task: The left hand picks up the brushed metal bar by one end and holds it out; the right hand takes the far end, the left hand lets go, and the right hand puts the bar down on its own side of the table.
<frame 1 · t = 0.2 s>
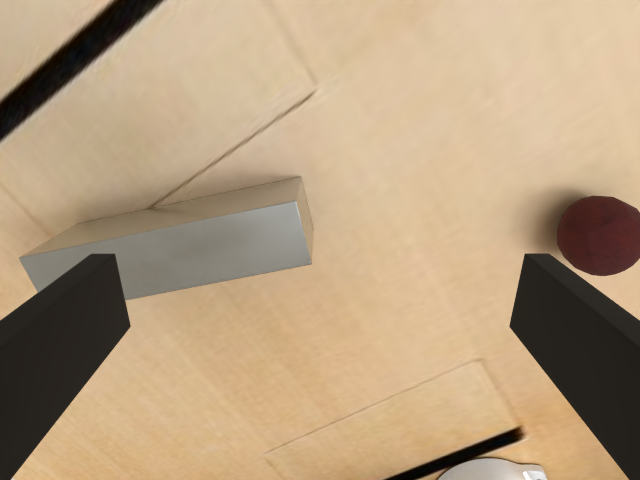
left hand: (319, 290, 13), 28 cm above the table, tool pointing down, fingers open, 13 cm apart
bar: (195, 226, 41), on the table
dark red ball: (576, 222, 41), on the table
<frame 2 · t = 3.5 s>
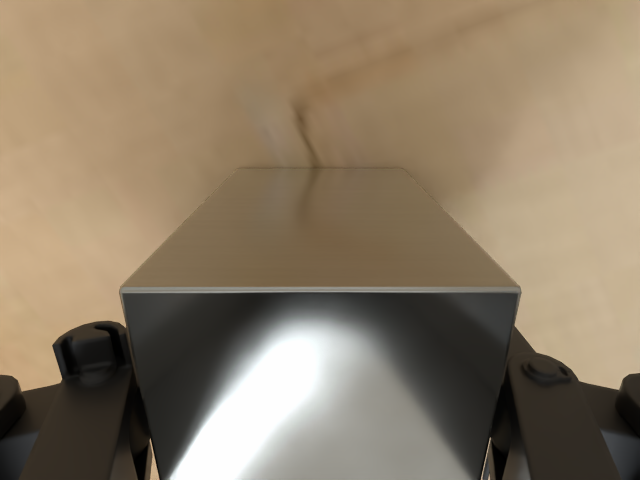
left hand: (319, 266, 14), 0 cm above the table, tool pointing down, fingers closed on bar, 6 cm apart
bar: (320, 429, 18), on the table, touching left hand
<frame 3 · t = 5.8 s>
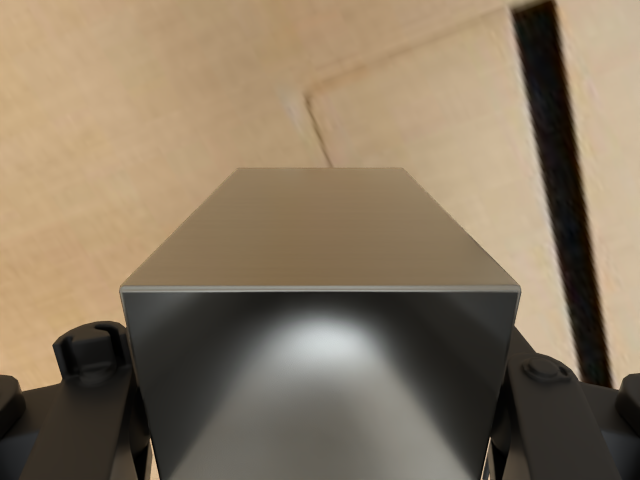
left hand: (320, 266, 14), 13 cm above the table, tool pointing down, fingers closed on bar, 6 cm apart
bar: (320, 428, 18), point 12 cm above the table, touching left hand
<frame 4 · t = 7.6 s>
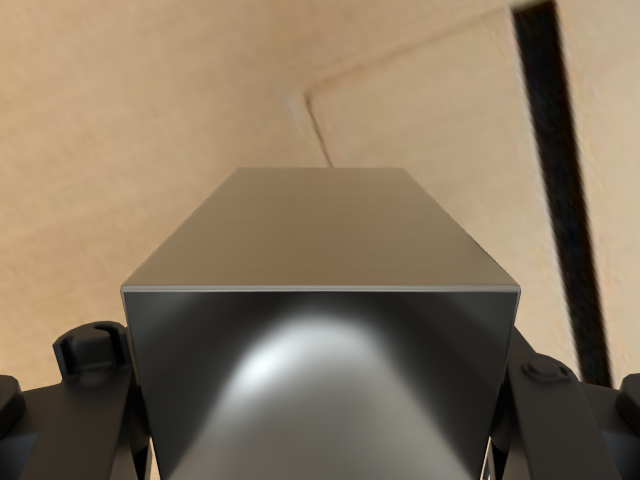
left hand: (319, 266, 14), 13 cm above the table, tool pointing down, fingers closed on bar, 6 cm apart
bar: (319, 428, 18), point 12 cm above the table, touching left hand, right hand
when the left hand's fingers open (13 cm above the table, at t = 8.5 s): bar stays where it is, held by the right hand.
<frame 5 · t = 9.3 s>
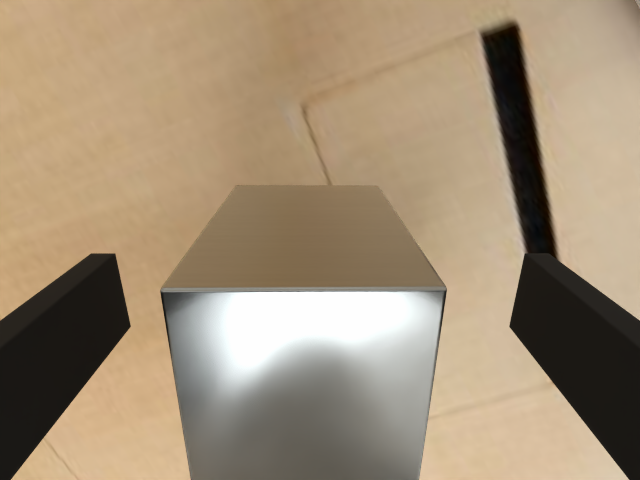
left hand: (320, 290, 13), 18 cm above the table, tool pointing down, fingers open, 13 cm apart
bar: (308, 413, 20), point 14 cm above the table, touching right hand
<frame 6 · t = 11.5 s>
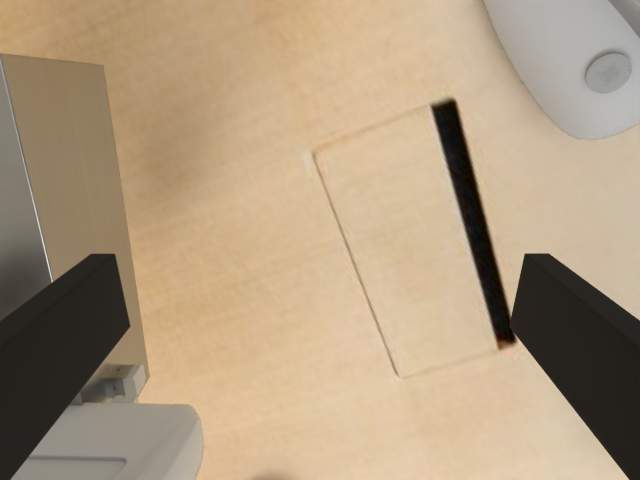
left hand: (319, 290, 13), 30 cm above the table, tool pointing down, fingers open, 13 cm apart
bar: (90, 243, 29), point 15 cm above the table, touching right hand
when the right hand's fingers open (5 cm above the table, at t = 15.8 s): bar drops 1 cm, on the table.
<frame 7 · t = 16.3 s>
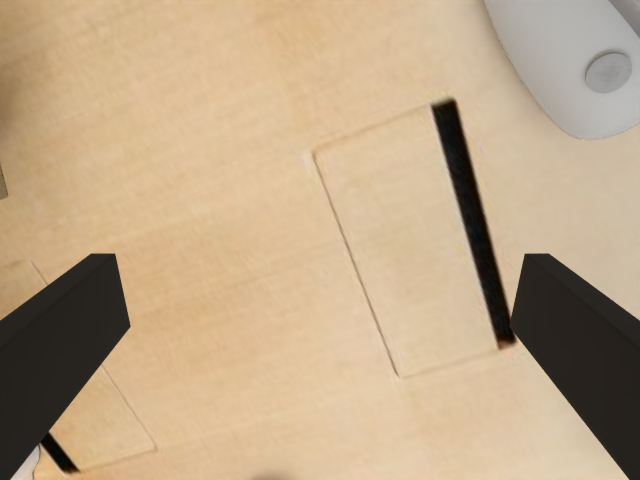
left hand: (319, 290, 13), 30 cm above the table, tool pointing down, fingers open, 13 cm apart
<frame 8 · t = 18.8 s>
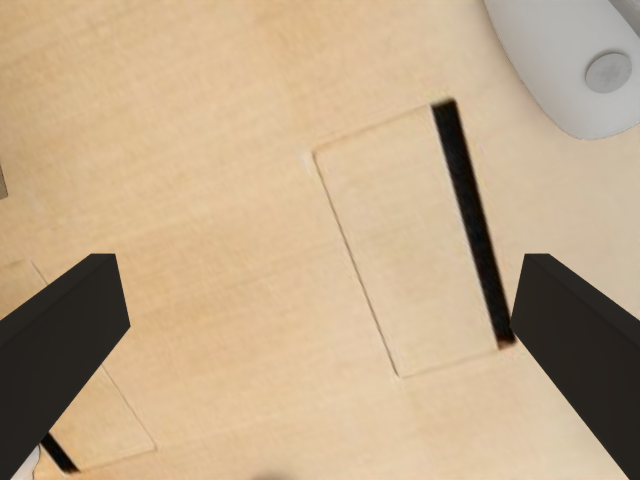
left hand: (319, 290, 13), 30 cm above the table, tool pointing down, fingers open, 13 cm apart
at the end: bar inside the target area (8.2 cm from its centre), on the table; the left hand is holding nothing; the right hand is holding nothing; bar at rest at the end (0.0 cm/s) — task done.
